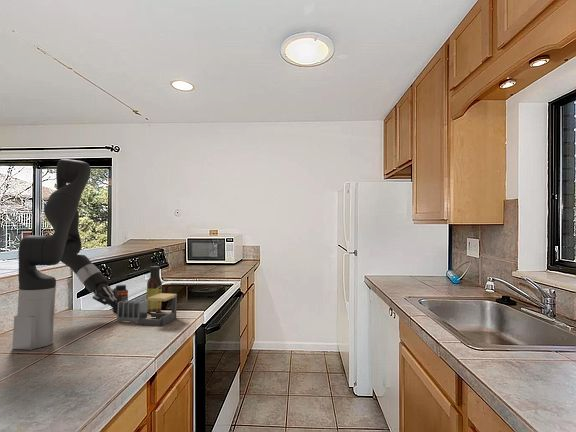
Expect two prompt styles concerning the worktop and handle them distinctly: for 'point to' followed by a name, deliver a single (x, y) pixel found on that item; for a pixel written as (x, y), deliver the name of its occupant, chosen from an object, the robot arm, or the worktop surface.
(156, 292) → the sauce bottle
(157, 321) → the grey and yellow stand
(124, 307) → the heatsink block
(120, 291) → the supplement bottle
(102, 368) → the worktop surface
